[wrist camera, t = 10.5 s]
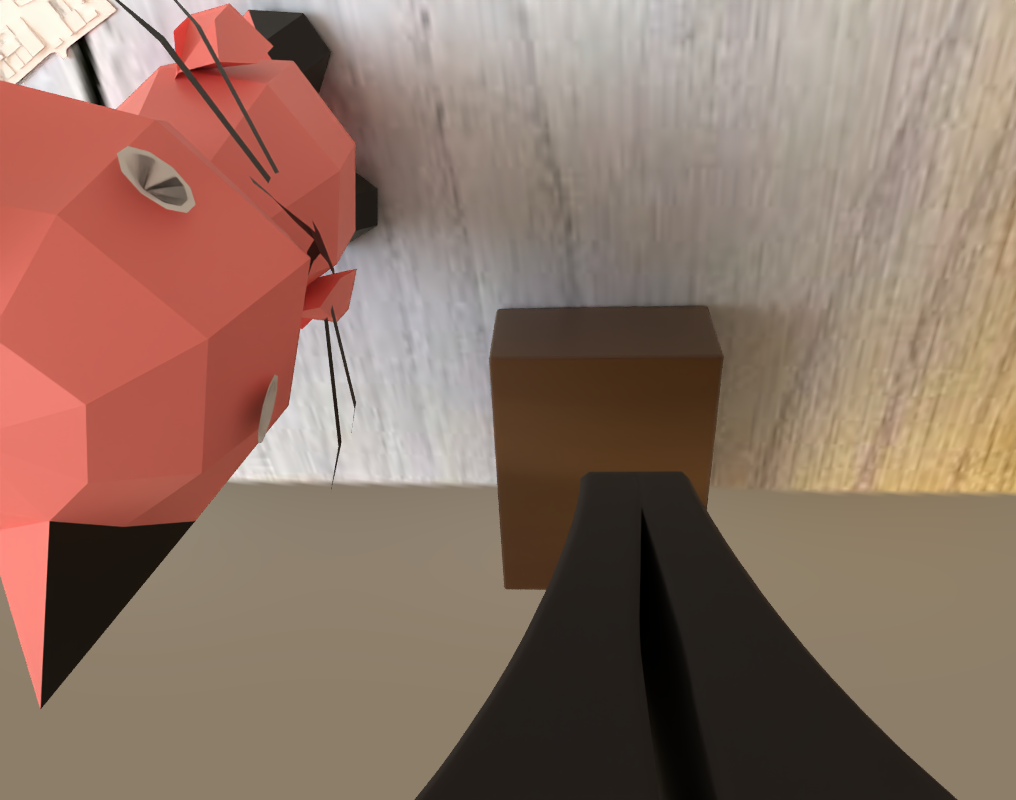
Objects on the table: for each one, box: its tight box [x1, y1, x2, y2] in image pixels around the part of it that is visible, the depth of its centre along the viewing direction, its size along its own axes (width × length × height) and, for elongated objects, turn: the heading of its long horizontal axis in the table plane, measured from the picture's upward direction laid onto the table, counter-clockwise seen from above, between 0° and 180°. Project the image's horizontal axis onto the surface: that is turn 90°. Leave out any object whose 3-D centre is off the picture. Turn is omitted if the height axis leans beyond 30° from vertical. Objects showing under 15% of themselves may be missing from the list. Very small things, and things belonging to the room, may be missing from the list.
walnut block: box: [489, 306, 724, 590], centre depth 20 cm, size 2×5×7 cm
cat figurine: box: [0, 0, 377, 709], centre depth 13 cm, size 7×7×12 cm
